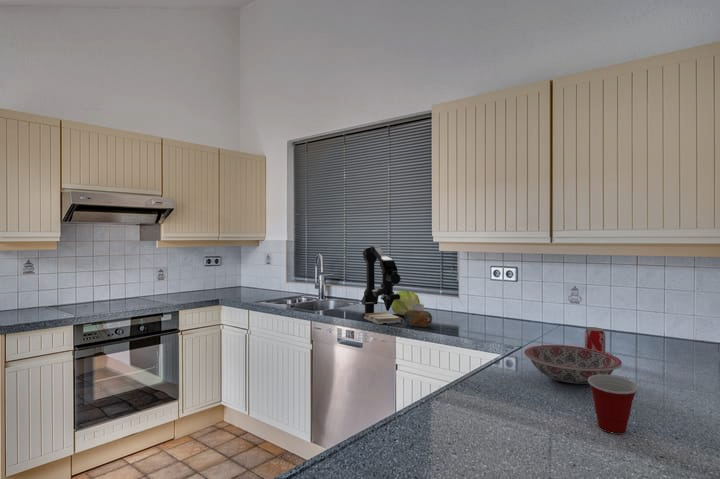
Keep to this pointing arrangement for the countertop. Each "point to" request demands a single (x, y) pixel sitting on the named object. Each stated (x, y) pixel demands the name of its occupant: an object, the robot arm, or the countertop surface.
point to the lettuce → (404, 302)
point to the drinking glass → (418, 307)
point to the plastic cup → (612, 401)
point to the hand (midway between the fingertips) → (387, 310)
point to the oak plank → (383, 317)
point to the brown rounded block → (418, 318)
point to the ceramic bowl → (571, 362)
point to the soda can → (595, 339)
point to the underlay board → (379, 322)
